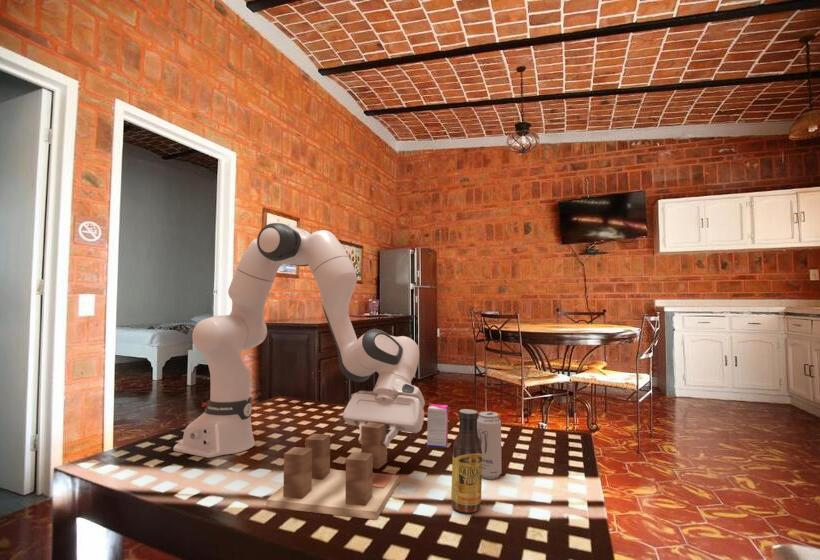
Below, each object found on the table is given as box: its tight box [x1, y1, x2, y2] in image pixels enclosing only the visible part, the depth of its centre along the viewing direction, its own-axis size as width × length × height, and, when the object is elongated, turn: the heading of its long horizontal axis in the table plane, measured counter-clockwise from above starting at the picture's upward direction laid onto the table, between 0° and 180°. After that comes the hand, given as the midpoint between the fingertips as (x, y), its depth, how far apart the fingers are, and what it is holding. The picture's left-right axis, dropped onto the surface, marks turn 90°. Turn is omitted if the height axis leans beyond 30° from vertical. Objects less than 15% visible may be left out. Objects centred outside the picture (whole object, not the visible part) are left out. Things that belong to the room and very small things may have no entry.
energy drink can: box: [477, 411, 503, 480], centre depth 106 cm, size 6×6×15 cm
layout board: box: [266, 433, 400, 520], centre depth 95 cm, size 24×18×10 cm
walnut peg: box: [360, 422, 388, 470], centre depth 99 cm, size 4×4×9 cm
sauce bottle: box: [450, 408, 483, 514], centre depth 89 cm, size 7×6×20 cm
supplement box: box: [426, 403, 449, 449], centre depth 128 cm, size 6×6×12 cm
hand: (372, 443), depth 98 cm, fingers closed on walnut peg, 4 cm apart
